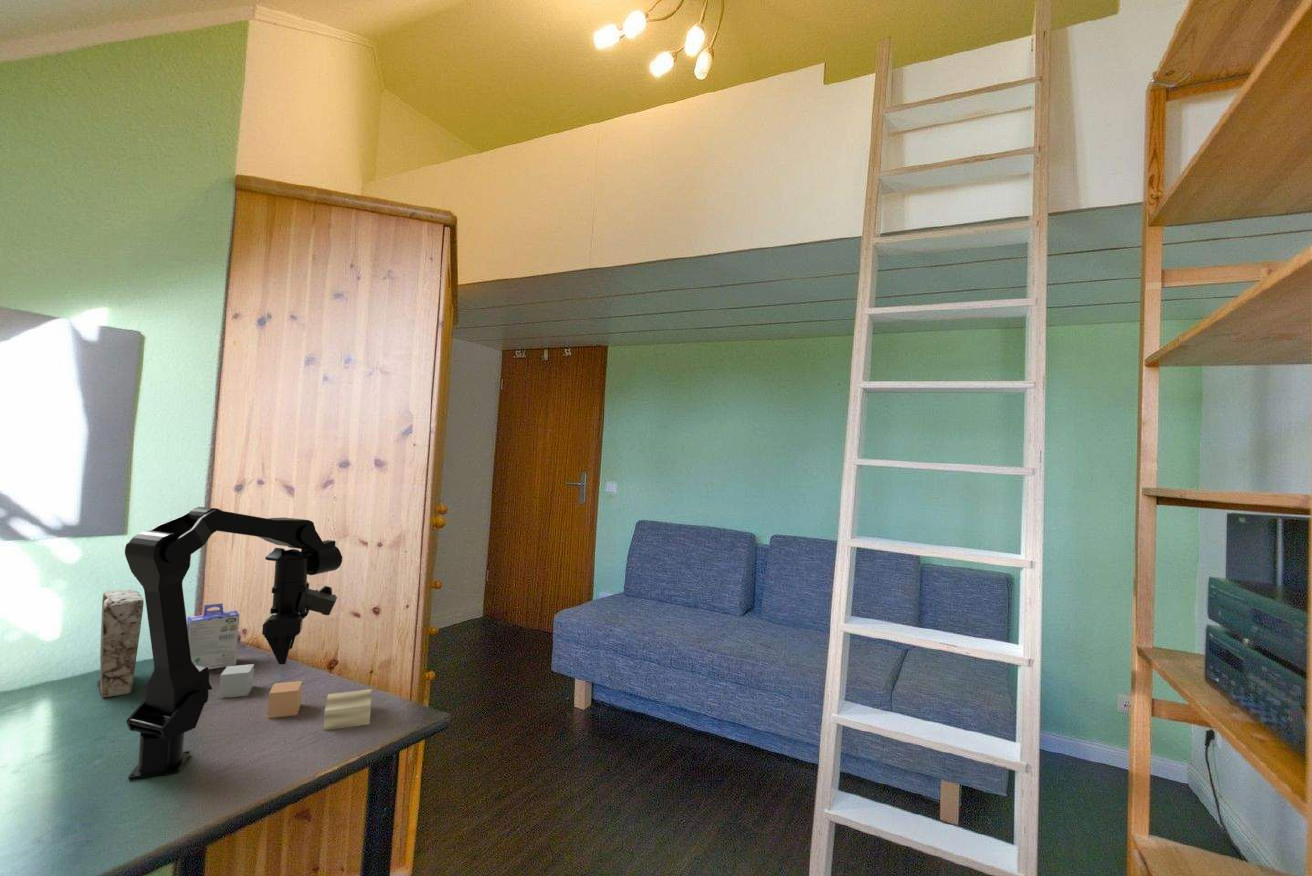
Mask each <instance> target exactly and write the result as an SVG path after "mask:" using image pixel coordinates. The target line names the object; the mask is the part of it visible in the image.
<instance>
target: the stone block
mask: <svg viewBox="0 0 1312 876" xmlns="http://www.w3.org/2000/svg"><path fill="white" fill-rule="evenodd" d="M101 603H102V604H101V606H102V607H101V621H100V622H101V625H100V626H101V627H100V653H99V657H100V659H99V662H100V663H99V668H100V669H99V671H100V672H99V673H100V675H99V676H100V677H99V680H98V681H97V683H96V684H97V686H98V689H99V693H100V694H101V697H102V698H108V697H114V696H115V697H116V696H121V695H123V696H124V695H129V694H131V693H133V689H132V688H133V683H134V677H135V676H134V675H135V671H136V669H135V668H136V663H137V655H138V650H139V649H138V648H139V641H140V633H141V629H142V628H141V627H142V620H143V619H142V618H143V611H144V605H145V604H144V598H143V596H142V594H140V591H139V590H138V589H120V590H117V589H116V590H106V591H104V592H103V594H102V602H101Z"/></svg>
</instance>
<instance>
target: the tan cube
mask: <svg viewBox="0 0 1312 876" xmlns="http://www.w3.org/2000/svg"><path fill="white" fill-rule="evenodd" d="M302 690H303V680H298V681H286V682H285V681H284V682H278V683H277V682H276V683H274V684H273V685H272V687H271V689H270V691H269V694H268V705H267V707H268V708H267V719H273V718H281V717H289V716H290V717H291V716H297V715H298V713H299V710H300V707H301V706H302Z"/></svg>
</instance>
